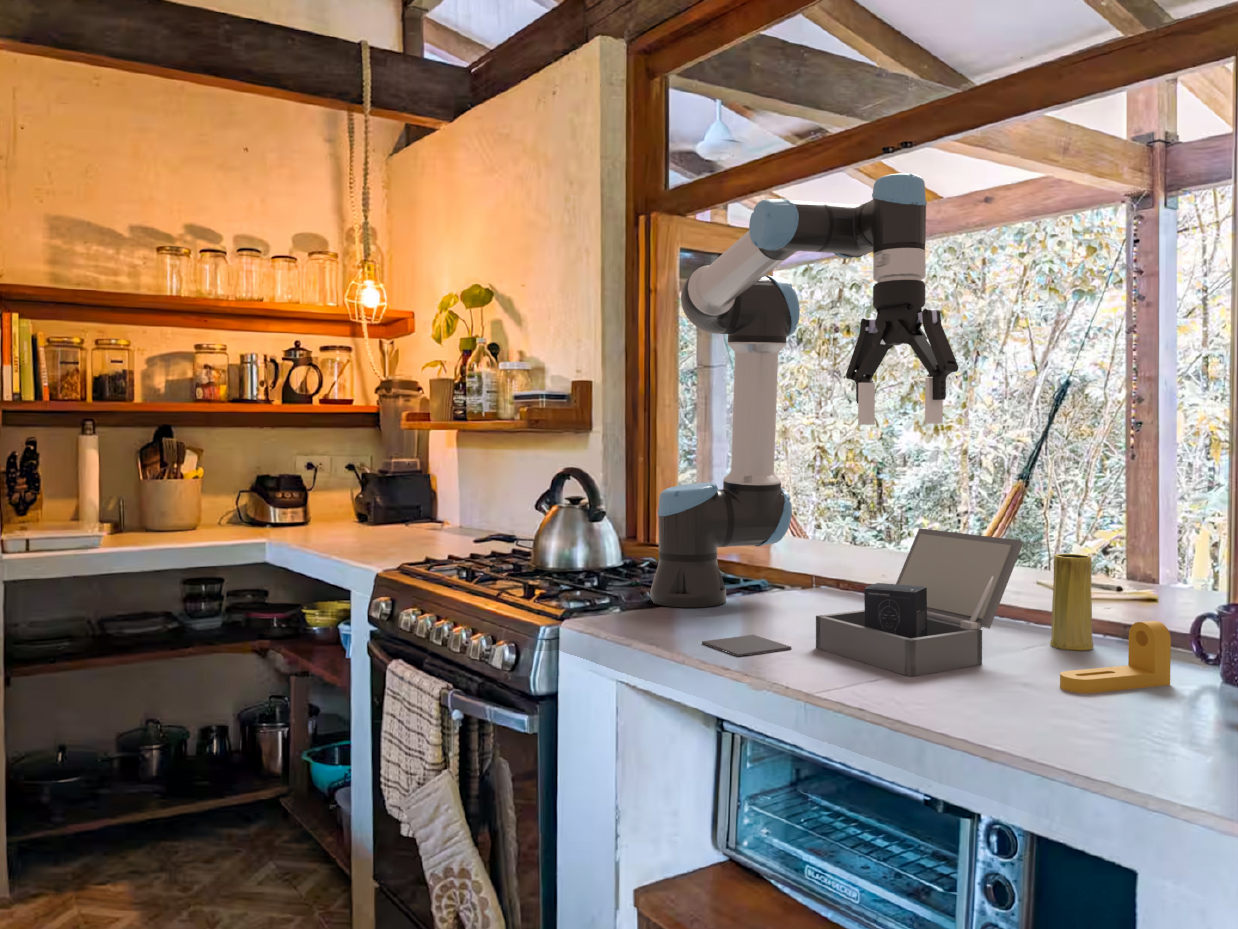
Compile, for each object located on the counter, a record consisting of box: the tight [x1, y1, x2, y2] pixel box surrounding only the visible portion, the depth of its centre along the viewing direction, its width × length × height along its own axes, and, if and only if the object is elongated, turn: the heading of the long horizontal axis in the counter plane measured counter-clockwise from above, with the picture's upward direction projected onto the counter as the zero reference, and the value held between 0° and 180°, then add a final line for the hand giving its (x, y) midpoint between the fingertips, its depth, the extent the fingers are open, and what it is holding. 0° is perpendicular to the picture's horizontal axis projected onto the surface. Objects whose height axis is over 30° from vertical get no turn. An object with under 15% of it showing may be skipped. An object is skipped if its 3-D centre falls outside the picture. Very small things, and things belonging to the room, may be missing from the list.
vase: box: [1049, 553, 1094, 652], centre depth 147 cm, size 6×6×14 cm
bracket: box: [1059, 620, 1172, 694], centre depth 125 cm, size 15×4×8 cm, turn 106°
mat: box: [701, 634, 792, 657], centre depth 149 cm, size 10×10×1 cm
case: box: [815, 527, 1024, 677], centre depth 144 cm, size 20×22×18 cm
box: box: [863, 582, 927, 639], centre depth 142 cm, size 8×6×11 cm
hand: (898, 424), depth 142 cm, fingers open, 13 cm apart
